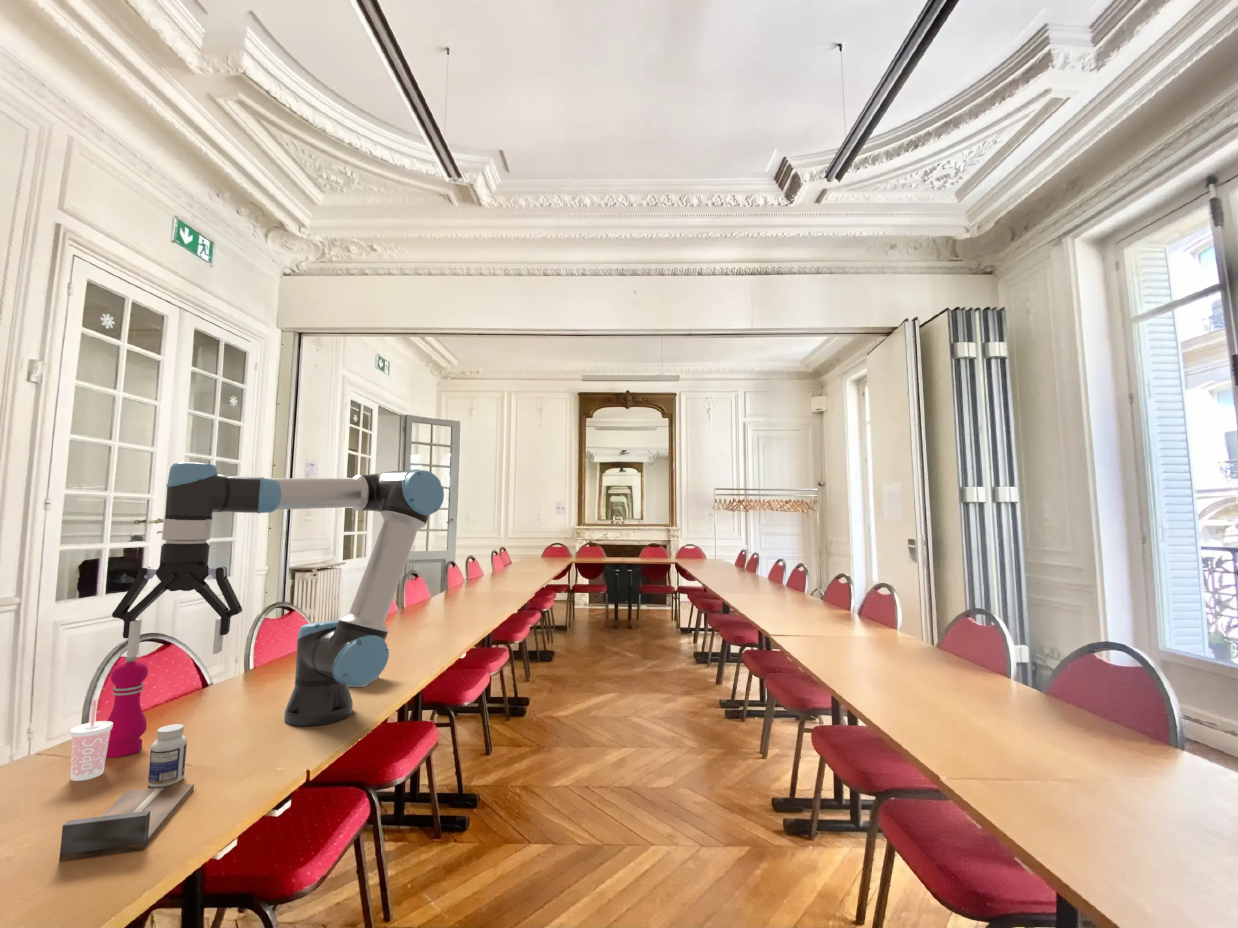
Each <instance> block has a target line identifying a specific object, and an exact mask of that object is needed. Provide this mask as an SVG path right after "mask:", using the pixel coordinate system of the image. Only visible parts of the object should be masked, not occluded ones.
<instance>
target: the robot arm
mask: <svg viewBox="0 0 1238 928" xmlns="http://www.w3.org/2000/svg"><path fill="white" fill-rule="evenodd" d="M217 470H218V469H217V466H216V465H215V464H212V463H202V462H185V461H182V462H181V461H179V462H175V463H173V464H172V465H171V466H170V468H169V473H168V479H167V483H166V497H165V498H166V499H165V511H164V513H165V514H164V519H163V526H162V527H163V528H162V537H161V539H162V540H163V541H165V542H164V543H162V545H161V548H160V557H159V566H158V568H155V567H154V568H153V567H152V568H151V566H144V567H140V568H139V569H138V570H137V572H136V573H137V574H136V577H135V581H134V582H133V583H132V585H131V586H130V587H129V589H127V591H126V593H125V595H124V596H123V598H122V599H121V600H120V601H119V603H118V604H117V606H116V607H115V609H114V611H112V614H111V617H112V618H113V619H120V620H122V621H123V632H122V638H123V639H128V640H127V648H126V649H127V650H126V656H125V659H126V658H130V657H133V656H135V655H136V656H137V655H139V653H140V651H139V650H140V649H139V648H140V641H141V630H142V623H143V622H142V621H143V620H142V618H139V616H140V615H141V614H142V613H143V612H144V611H146V609H147V608H149V607H150V606H151V605H152V604H153V603H154V602H155V601H156V600H157V599H159V598H160V596H161V595H163V594H164V593H165V592H166V591H169V592H176V591H183V592H190V591H193V590H195V592H196V593H197V594H199V595H200V596H201V597H202V598H203V599H204V600H205V601H206V603H207V604H208V605H209V606H210V607H211V608H212V609H213V610H214V612H215V613H217V615H218V616H219V617H218V618H216V619H215V622H214V623H215V624H214V625H215V626H214V634H213V635H214V636H213V645H212V646H213V647H212V655H217V654H220V653H221V652H222V651H223V641H224V640H223V639H224V636H226V635H228V634H229V632H230V627H231V618H232V617H234V616H236V615H238V614H240V613H242V612H243V607H242V605H241V603H240V601H239V600H238V597H237V595H236V593H235V591H234V589H233V586H232V585H231V582H230V580H229V578H228V571H227V569H228V568H227V567H226V566H224V565H223V566H220V567H219V566H218V567H215V568H210V567H209V557H210V556H209V555H210V547H211V546H210V544H209V542H207V541H209V540H211V535H212V534H211V533H212V524H213V523H212V522H213V513H241V514H242V513H246V514H247V513H248V514H249V513H250V514H251V513H252V514H253V513H254V514H255V513H256V514H258V515H259V514H266V513H267V514H268V513H269V514H271V513H273V512H275V511H277V510H307V509H337V508H339V509H341V508H352V509H353V510H354V511H357V512H359V511H362V512H363V511H366V512H367V511H368V512H370V511H371V512H380V515H381V517H382V519H383V523H382V525H381V528H380V531H379V533H378V535H377V538H376V541H375V543H374V546H373V549H372V551H371V554H370V557H369V559H368V562H367V564H366V568H365V569H364V572H363V575H362V578H361V580H360V583H359V586H358V588H357V592H356V594H355V596H354V598H353V601H352V604H351V607H350V610H349V612H348V613H347V615H345V616H342V617H340V618H339V619H337V620H336V619H335V620H327V621H325V620H324V621H317V622H311V623H306V624H303V625H301V627H300V628H299V630H298V634H297V638H296V641H297V645H296V659H295V660H296V662H295V676H294V677H295V678H294V688H293V690H292V692H291V694H290V697H289V699H288V701H287V704H286V707H285V710H284V717H283V719H284V723H286V724H288V725H291V726H292V725H293V726H297V727H301V726H302V727H309V726H312V727H313V726H319V725H327V724H330V723H331V724H332V723H334V722H335V723H336V722H338V721H341V720H344V719H345V718H347V717H349V716H350V715H351V714H352V713H353V706H354V705H353V704H354V702H353V699H352V696H351V692H350V687H348V685H352V686H360V685H364V684H367V683H369V682H371V681H372V680H374V679H375V678H377V677H378V676H379V677H380V675H381V673H382V672H383V671H384V670H385V668H386V666H387V664H388V661H389V657H390V652H389V651H390V650H389V648H388V644H387V641H386V639H387V636H388V633H389V629H388V627H387V626H386V620H387V616H388V614H389V611H390V608H391V605H392V603H393V600H394V597H395V594H396V591H397V589H398V586H399V583H400V580H401V577H402V575H403V571H404V569H405V566H406V564H407V560H408V558H409V554H410V552H411V549H412V547H413V544H414V541H415V538H416V535H417V533H418V531H419V530H421V529H422V528H425V527H426V526H427V522H428V520H429V517H430V515H432V514H434V513H436V512H438V511H439V510H440V508H441V507H442V505H443V503H444V497H445V491H444V487H443V485H442V482H441V480H440V479H439V477H437V475H436V474H434V473H432V472H431V471H429V470H423V469H422V470H421V469H417V468H415V469H411V470H392V471H384V472H380V473H378V472H377V473H372V474H356V475H354V476H353V477H352V478H311V477H310V478H299V477H298V478H294V477H293V478H288V477H287V478H282V477H281V478H280V477H279V478H277V477H275V478H274V477H271V478H270V477H263V476H260V477H257V476H256V477H255V476H243V475H242V476H240V475H239V476H238V475H236V476H235V475H223V474H218V471H217ZM209 575H211V577H212V579H214V580H215V582H216V583H217V586H218V588H219V590H220V593H221V594H222V596H223V598H224V600H225V603H226V604H227V606H226V604H225V603H224V602H223V600H221V599H220V597H218V595H217V593H215V591H213V590H212V588H211V587H210V585H209V584H208V582H206V581H205V580H206V579H207V578H208V577H209ZM154 576H156V577H157V578H158V580H159V583H158V584H157V585H156V586H155V587H154V588H152V590H151V591H150V592H148V594H147V595H146V596H144V598H142V599H141V600H140V601H139V602H138V603H137V604H135V606H134V607H132V606H133V604H134V602H135V601H136V600H137V599H138V597H139V595H140V594H141V592H142V591H144V588H145V586H146V585H147V584H148V582H149V580H151V579H153V577H154ZM131 607H132V608H131ZM138 618H139V619H138Z"/></svg>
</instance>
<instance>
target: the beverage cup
mask: <svg viewBox="0 0 1238 928" xmlns="http://www.w3.org/2000/svg"><path fill="white" fill-rule="evenodd" d="M96 708H97V699H96V698H94V699H93V700H92V708H91V709H92V710H91V719H90V722H87V723H83V724H78V725H76V726H74V727H72V728H71V729H70V730H69V735H70V736H71V748H70V750H71V751H70V752H71V756H70V758H71V759H70V760H71V761H70V780H71V781H75V782H77V781H78V782H79V781H80V782H81V781H87V780H92V779H94V778H96V777H100V776H101V775H103V774H104V770H105V765H106V758H107V757H106V754H107V748H108V742H109V737H110V731H111V729H112V727H113V722H111V721H107V720H100V721H98V720H97V721H95V718H96V710H97V709H96Z"/></svg>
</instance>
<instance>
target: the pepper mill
mask: <svg viewBox="0 0 1238 928" xmlns="http://www.w3.org/2000/svg"><path fill="white" fill-rule="evenodd" d="M137 658H138V657H137V655H135V656H133V657H130V658H126V657H125V661H124V662H121V663H120V664H118V665H116V667H114V668H113V670H112V672H111V675H110V681H111V683H112V684H113V685H114V687H113V688H112V691H113V692H112V695H113V696H114V702H113V708H112V709H111V712H110V714H109V716H108V718H107V719H106V721H111V722H113V727H112V729H111V731H110V737H109V742H108V748H107V754H106V758H109V759H113V758H121V757H125V756H129V755H133V754H135V753H137V752H139V751H140V750H141V749H142V748H143V739H142V738H141V737H142V736H143V735H144V734H145V732H146V731H147V724H148V723H147V719H146V718H147V717H146V716H145V714H144V712H143V709H142V707H141V706H142V705H141V692H143V691H144V685H145V684H144V683H143V682H144V681H145V679H146V678H147V677H148V674H149V669H148V666H147V664H146V663H144V662H142V661H139V660H137Z"/></svg>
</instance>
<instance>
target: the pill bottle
mask: <svg viewBox="0 0 1238 928" xmlns="http://www.w3.org/2000/svg"><path fill="white" fill-rule="evenodd" d="M184 728H185V726H184V725H183V724H177V723H176V724H175V723H174V724H168V725H163V726H161V727H160V728H158V729H157V731H156V739H157V740H155V741H154V742H153V743H151V746H150V757H149V763H148V764H149V767H148V776H147V784H148V786H149V787H151V788H159V787H169V786H173V785H174V784H177V783H179V782H181V780H183V779H184V777H185V770H186V769H185V768H186V758H187V745H188V739H187V737H186V736H184V735H183V734H184Z"/></svg>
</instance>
